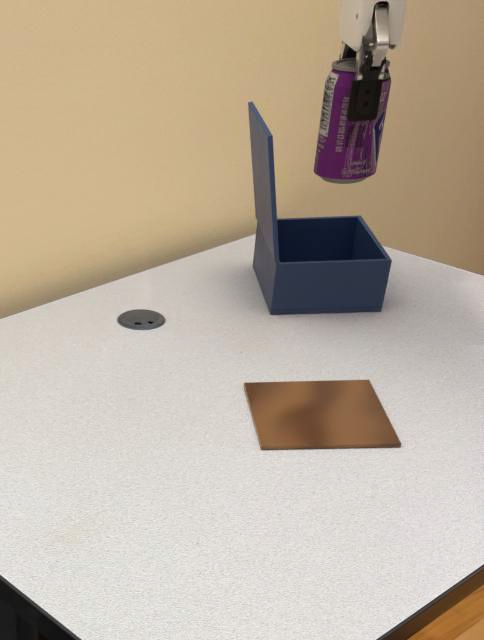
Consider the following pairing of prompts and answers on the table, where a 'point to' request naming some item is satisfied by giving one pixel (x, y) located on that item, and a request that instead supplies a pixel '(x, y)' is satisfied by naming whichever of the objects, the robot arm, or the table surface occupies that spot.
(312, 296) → the box
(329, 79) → the beverage can
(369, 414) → the cork mat
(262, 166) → the lunchbox lid
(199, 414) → the table surface
